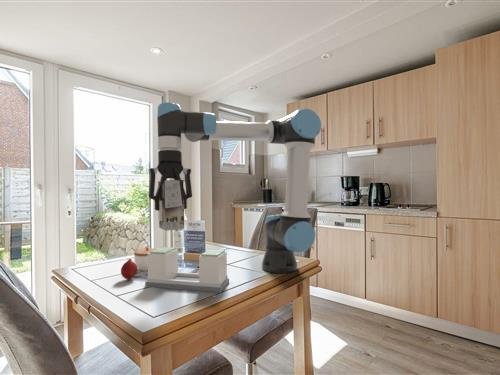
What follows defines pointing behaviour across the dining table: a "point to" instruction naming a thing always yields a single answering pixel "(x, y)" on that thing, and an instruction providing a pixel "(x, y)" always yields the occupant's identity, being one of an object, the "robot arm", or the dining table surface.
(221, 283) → the white slotted block
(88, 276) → the dining table surface
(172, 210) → the coffee box
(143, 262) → the lidded jar
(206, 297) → the dining table surface
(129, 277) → the onion
